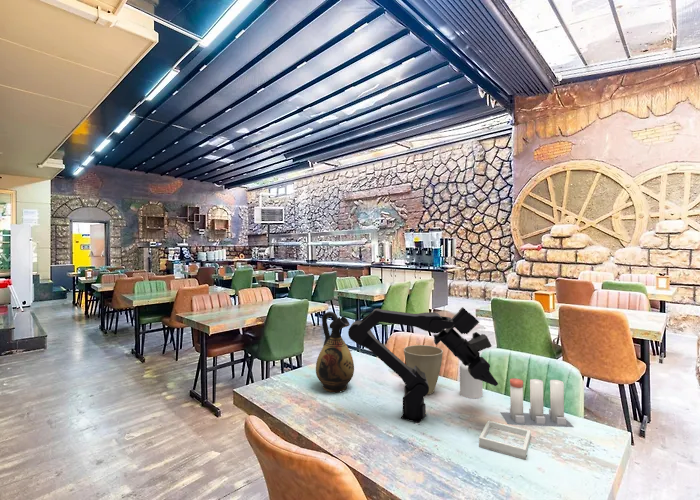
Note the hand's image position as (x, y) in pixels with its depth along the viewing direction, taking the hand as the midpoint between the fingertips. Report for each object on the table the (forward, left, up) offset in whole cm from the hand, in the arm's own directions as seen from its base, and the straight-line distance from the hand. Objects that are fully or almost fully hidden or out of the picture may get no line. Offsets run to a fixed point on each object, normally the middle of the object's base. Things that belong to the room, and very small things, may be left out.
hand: (492, 379), depth 112 cm
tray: (+5, -12, -13) cm, 18 cm away
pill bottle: (-11, +15, -13) cm, 23 cm away
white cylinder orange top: (+6, +3, -12) cm, 14 cm away
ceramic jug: (-60, -4, -13) cm, 61 cm away
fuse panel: (+11, +6, -13) cm, 18 cm away
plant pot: (-28, +11, -13) cm, 33 cm away
